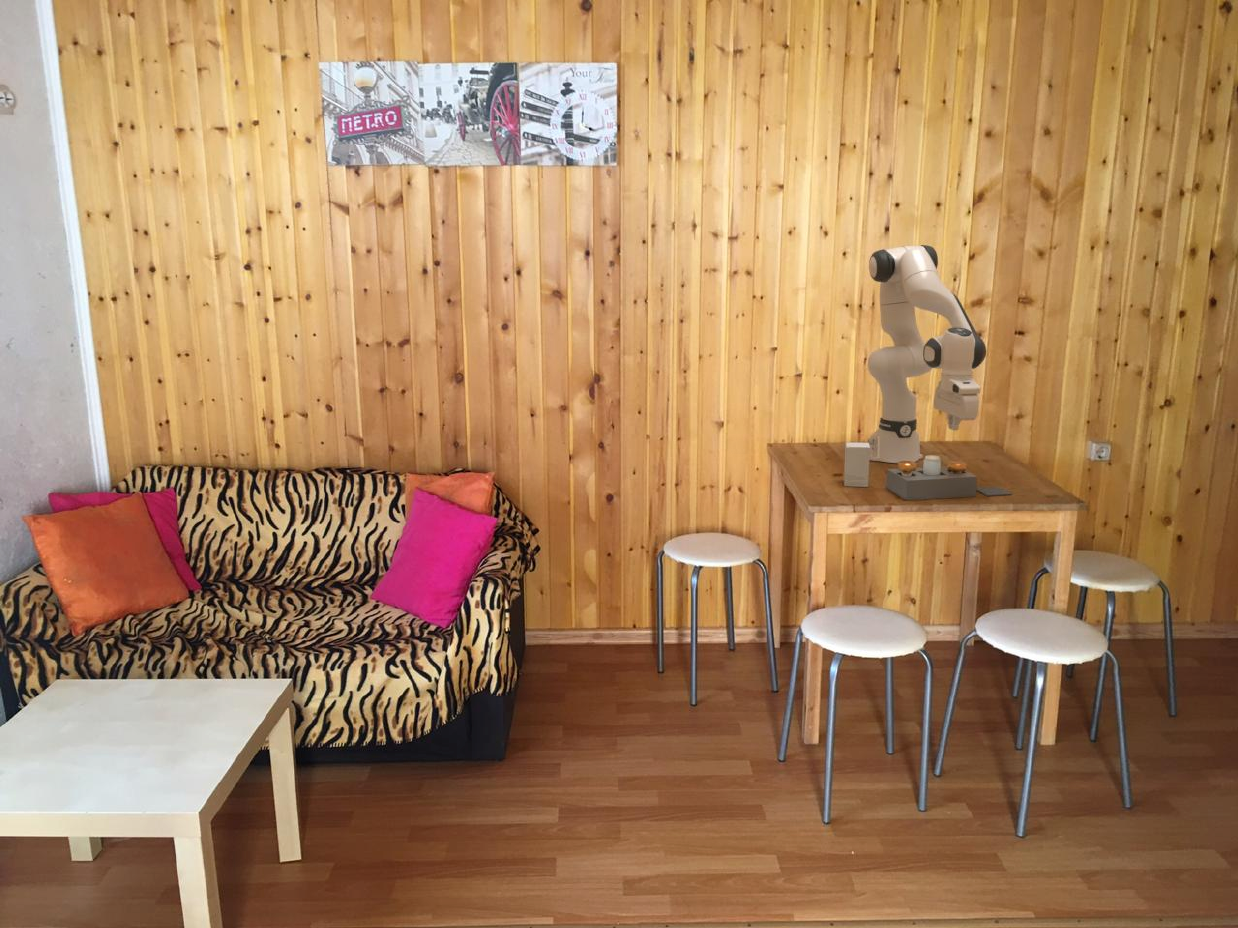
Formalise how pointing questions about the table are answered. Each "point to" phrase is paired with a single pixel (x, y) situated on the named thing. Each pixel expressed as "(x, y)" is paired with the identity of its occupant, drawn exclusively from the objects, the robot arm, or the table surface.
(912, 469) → the plunger
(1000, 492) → the mat
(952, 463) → the plunger
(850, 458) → the supplement box
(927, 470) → the block
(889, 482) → the block
